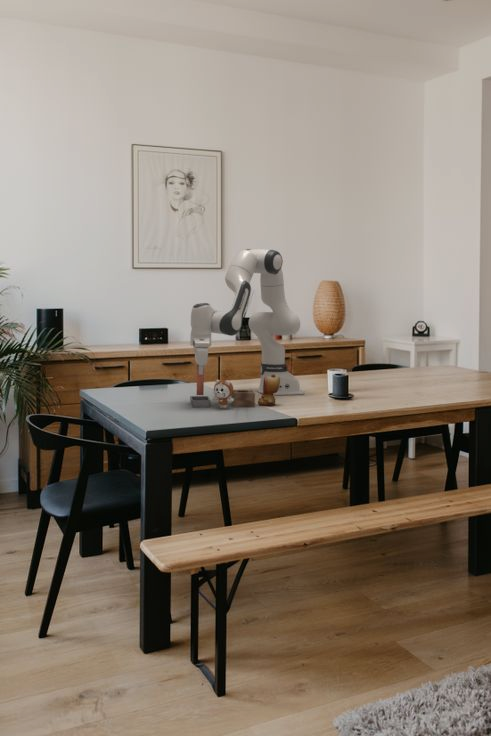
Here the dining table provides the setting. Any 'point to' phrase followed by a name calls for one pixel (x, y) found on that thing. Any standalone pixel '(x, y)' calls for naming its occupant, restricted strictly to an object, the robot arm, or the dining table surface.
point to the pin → (200, 382)
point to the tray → (199, 401)
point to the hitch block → (243, 398)
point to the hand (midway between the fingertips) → (200, 373)
